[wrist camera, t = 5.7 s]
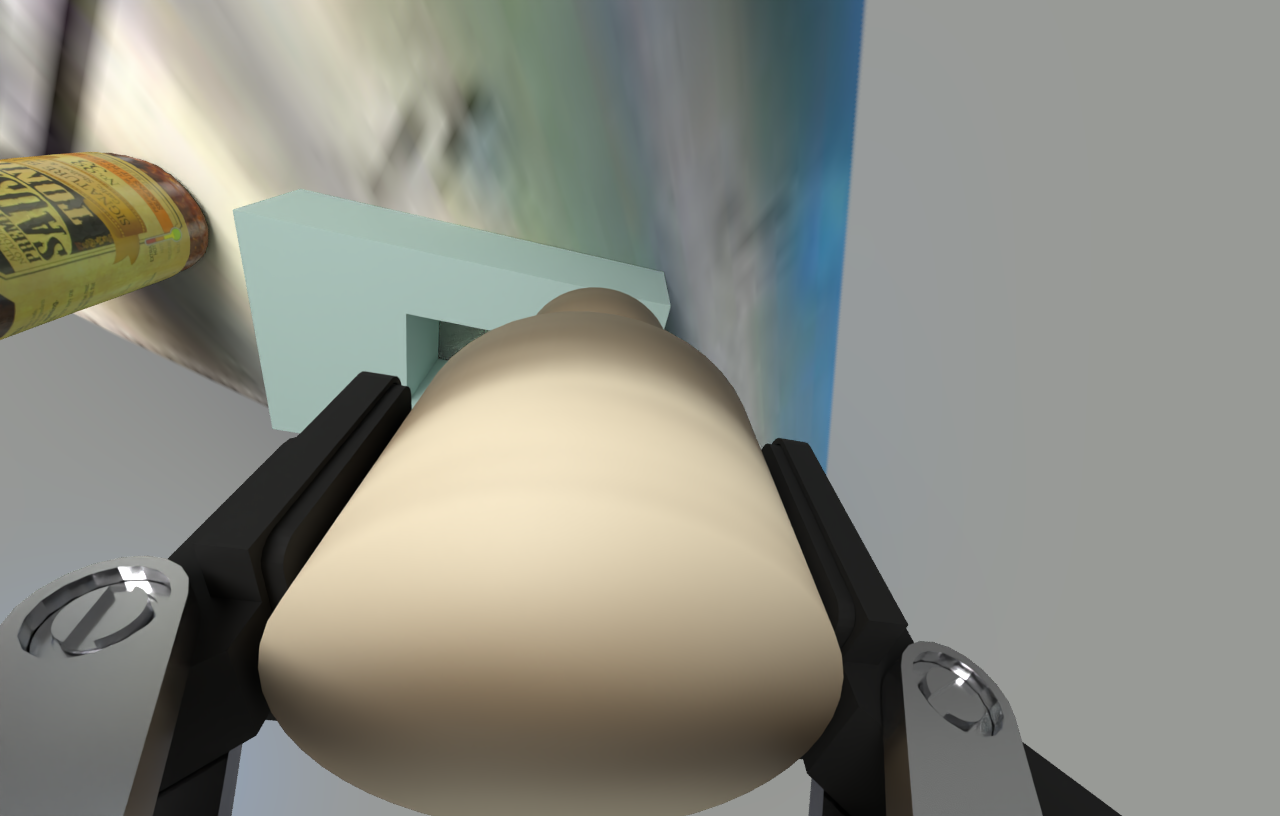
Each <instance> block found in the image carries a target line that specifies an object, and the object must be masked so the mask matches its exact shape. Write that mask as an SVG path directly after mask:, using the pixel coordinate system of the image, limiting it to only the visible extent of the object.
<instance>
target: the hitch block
mask: <svg viewBox="0 0 1280 816" xmlns="http://www.w3.org/2000/svg"><path fill="white" fill-rule="evenodd" d="M233 214H234V220H235V225H236V231H237V236H238V242H239V247H240V253H241V258H242V264H243V269H244V275H245V280H246V286H247V291H248V297H249V302H250V308H251V313H252V319H253V324H254V330H255V335H256V341H257V346H258V352H259V357H260V363H261V368H262V374H263V379H264V385H265V390H266V396H267V401H268V407H269V412H270V417H271V423H272V429H276V430H282V431H289V432H295V433H301V432H302V431H303V430H304V429H305V428H306V427H307V426H308V425H309V424H310V423H311V422H312V421H313V420H314V419H315V418H316V417H317V416H318V415H319V414H320V413H321V412H322V411H323V410H324V409H325V408H326V407H327V406H328V405H329V403H330V402H331V401H332V400H333V399H334V398H335V397H336V396H337V395H338V394H339V393H340V392H341V391H342V390H343V389H344V388H345V387H346V386H347V385H348V384H349V383H350V382H351V381H352V380H353V379H354V378H355V377H356V376H357V375H358V374H359V373H361V372H362V371H367V372H373V373H379V374H386V375H392V376H398V377H399V378H400V381H401V385H403V386H408V387H409V388H410V390H411V399H412V409H413V407H414V406H415V404H416V403H417V402H418V400H419V399H420V397H421V396H422V394H423V393H424V391H425V390H426V388H427V387H428V386H429V384H430V383H431V381H432V380H433V378H434V377H435V375H436V374H437V373H438V372H439V370H440V369H441V368H442V367H443V366H444V365H445V364H446V363H447V362H448V361H447V360H442V359H438V346H439V320H440V321H445V322H450V323H455V324H460V325H465V326H470V327H475V328H480V329H485V330H493V329H495V328H498V327H500V326H503V325H505V324H507V323H510V322H512V321H516V320H520V319H523V318H527V317H531V316H535V315H537V313H538V312H539V311H540V310H541V309H542V308H543V307H544V306H545V305H546V304H547V303H549V302H550V301H551V300H553V299H554V298H556V297H558V296H560V295H562V294H564V293H567V292H569V291H572V290H576V289H581V288H588V287H601V288H608V289H613V290H617V291H620V292H623V293H625V294H628V295H630V296H632V297H633V298H635V299H637V300H639V301H640V302H641V303H643V304H644V305H645V306H646V307H647V308H648V309H649V310H650V311H651V312H652V313H653V314H654V315H655V316H656V318H657V319H658V320H659V322H660V324H661V326H662V327H663V329H664V328H665V324H666V321H667V317H668V314H669V310H670V307H671V305H670V300H669V295H668V291H667V286H666V281H665V277H664V272H661V271H657V270H652V269H648V268H644V267H639V266H635V265H631V264H626V263H622V262H617V261H613V260H609V259H604V258H600V257H596V256H591V255H587V254H583V253H578V252H574V251H570V250H565V249H561V248H556V247H552V246H548V245H543V244H539V243H535V242H530V241H526V240H522V239H517V238H513V237H508V236H504V235H500V234H495V233H491V232H487V231H482V230H478V229H474V228H469V227H465V226H460V225H456V224H452V223H447V222H443V221H439V220H434V219H430V218H426V217H421V216H417V215H412V214H408V213H404V212H399V211H395V210H391V209H386V208H382V207H378V206H373V205H369V204H364V203H360V202H356V201H351V200H347V199H343V198H338V197H334V196H330V195H325V194H321V193H316V192H312V191H308V190H303V189H299V190H296V191H292V192H289V193H286V194H283V195H279V196H276V197H273V198H270V199H266V200H263V201H260V202H257V203H253V204H250V205H247V206H244V207H240V208H237V209H234V210H233Z"/></svg>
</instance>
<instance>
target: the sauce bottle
mask: <svg viewBox="0 0 1280 816" xmlns="http://www.w3.org/2000/svg"><path fill="white" fill-rule="evenodd" d="M208 236H209V235H208V226H207V223H206V221H205V217H204V215H203V213H202V211H201V210H200V207H199V206H198V204H197V203H196V202H195V200H194V199H193V198H192V196H191V195H190V194H189V192H188V191H187V190H186V189H185V188H184V187H183V186H182V185H181V184H180V183H179V182H178V181H177V180H175V178H174V177H173V176H172V175H171V174H168V173H166V172H165V171H164V170H163V169H162V168H160V167H158V166H157V165H154V164H151V163H149V162H147V161H144V160H141V159H136V158H133V157H129V156H126V155H117V154H113V153H99V152H81V153H69V154H57V155H45V156H34V157H22V158H11V159H2V160H0V340H1V339H4V338H7V337H9V336H12V335H15V334H18V333H20V332H23V331H26V330H28V329H31V328H33V327H36V326H39V325H42V324H45V323H47V322H50V321H53V320H56V319H58V318H61V317H64V316H66V315H69V314H72V313H74V312H77V311H80V310H83V309H85V308H88V307H91V306H94V305H97V304H99V303H102V302H105V301H108V300H110V299H113V298H116V297H119V296H121V295H124V294H127V293H130V292H132V291H135V290H138V289H140V288H143V287H146V286H148V285H151V284H154V283H157V282H159V281H162V280H164V279H167V278H170V277H172V276H174V275H175V274H177V273H178V272H180V271H183V270H186V269H188V268H190V267H191V266H192V265H193V264H195V263H196V262H197V261H199V259H200V258H201V257H202V256H203V255H204V253H206V248H207V246H208Z"/></svg>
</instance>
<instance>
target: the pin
mask: <svg viewBox="0 0 1280 816" xmlns="http://www.w3.org/2000/svg"><path fill="white" fill-rule="evenodd" d="M258 671H259V677H260V682H261V688H262V692H263V694H264V696H265V699H266V701H267V703H268V706H269V708H270V710H271V713H272V714H273V716H274V717H275V718H276V720H277V721H278V723H279V724H280V726H281V727H282V729H283V730H284V732H285V733H286V734H287V735H288V736H289V737H290V738H291V739H292V740H293V741H294V742H295V743H296V744H297V746H299V748H300V749H301V750H302V751H304V752H305V753H306V754H307V755H309V756H310V757H311V758H312V759H313V760H315V761H316V762H317V763H318V764H320V765H321V766H322V767H324V768H325V769H327V770H328V771H330V772H331V773H333V774H335V775H336V776H338V777H339V778H341V779H342V780H344V781H346V782H348V783H350V784H352V785H354V786H355V787H358V788H359V789H361V790H363V791H365V792H367V793H369V794H372V795H374V796H376V797H379V798H381V799H384V800H386V801H388V802H391V803H393V804H396V805H399V806H402V807H405V808H408V809H411V810H414V811H417V812H420V813H424V814H428V815H431V816H686V815H690V814H694V813H697V812H700V811H703V810H706V809H709V808H712V807H715V806H718V805H720V804H723V803H726V802H728V801H730V800H732V799H735V798H737V797H739V796H741V795H744V794H746V793H748V792H750V791H752V790H754V789H755V788H757V787H759V786H761V785H763V784H765V783H766V782H768V781H770V780H771V779H773V778H774V777H776V776H777V775H779V774H780V773H782V772H783V771H785V770H786V769H788V768H789V767H790V766H791V765H792V764H793V763H795V762H796V761H797V760H798V759H799V758H801V757H802V756H803V755H804V754H805V753H806V752H807V751H808V750H809V749H810V748H811V747H812V745H813V744H814V743H815V742H816V741H817V740H818V739H819V737H820V736H821V735H822V733H823V732H824V730H825V729H826V727H827V725H828V724H829V722H830V721H831V719H832V717H833V715H834V712H835V710H836V707H837V705H838V702H839V700H840V696H841V690H842V683H843V664H842V654H841V651H840V648H839V645H838V642H837V639H836V635H835V632H834V630H833V627H832V625H831V622H830V620H829V617H828V615H827V613H826V610H825V608H824V605H823V603H822V600H821V598H820V595H819V593H818V590H817V588H816V585H815V583H814V580H813V578H812V575H811V573H810V570H809V568H808V565H807V563H806V560H805V558H804V555H803V553H802V550H801V548H800V545H799V543H798V541H797V538H796V536H795V533H794V531H793V528H792V526H791V523H790V521H789V518H788V516H787V513H786V511H785V508H784V506H783V503H782V501H781V498H780V496H779V493H778V491H777V488H776V486H775V483H774V481H773V478H772V476H771V473H770V471H769V468H768V466H767V464H766V461H765V459H764V456H763V454H762V451H761V449H760V446H759V444H758V441H757V439H756V436H755V434H754V431H753V429H752V426H751V424H750V421H749V419H748V416H747V414H746V411H745V409H744V406H743V405H742V403H741V401H740V399H739V397H738V395H737V393H736V391H735V390H734V388H733V387H732V385H731V384H730V383H729V381H728V380H727V379H726V377H725V376H724V375H723V373H722V372H721V371H720V370H719V369H718V368H717V367H716V366H715V365H714V364H713V363H712V362H711V361H710V360H709V359H708V358H707V357H706V356H705V355H703V354H702V353H701V352H699V351H698V350H697V349H695V348H694V347H693V346H691V345H690V344H689V343H687V342H686V341H684V340H682V339H680V338H678V337H676V336H675V335H673V334H671V333H669V332H667V331H666V330H664V329H663V327H662V326H661V324H660V322H659V320H658V319H657V318H656V316H655V315H654V314H653V313H652V312H651V311H650V310H649V309H648V308H647V307H646V306H645V305H644V304H643V303H641V302H640V301H639V300H637V299H635V298H633V297H632V296H630V295H628V294H625V293H623V292H620V291H617V290H613V289H608V288H601V287H588V288H581V289H576V290H572V291H569V292H567V293H564V294H562V295H560V296H558V297H556V298H554V299H553V300H551V301H550V302H549V303H547V304H546V305H545V306H544V307H543V308H542V309H541V310H540V311H539V312H538V313H537V315H535V316H531V317H527V318H523V319H520V320H516V321H512V322H510V323H507V324H505V325H503V326H500V327H498V328H495V329H493V330H490V331H489V332H487V333H485V334H483V335H482V336H480V337H478V338H477V339H475V340H473V341H471V342H470V343H468V344H467V345H466V346H465V347H463V348H462V349H461V350H460V351H459V352H457V353H456V354H455V355H454V356H452V357H451V358H450V359H449V360H448V362H447V363H446V364H445V365H444V366H443V367H442V368H441V369H440V370H439V372H438V373H437V374H436V375H435V377H434V378H433V380H432V381H431V383H430V384H429V386H428V387H427V388H426V390H425V391H424V393H423V394H422V396H421V397H420V399H419V400H418V402H417V403H416V404H415V406H414V407H413V409H412V410H411V412H410V413H409V415H408V416H407V417H406V419H405V420H404V422H403V423H402V425H401V426H400V428H399V429H398V431H397V432H396V433H395V435H394V436H393V438H392V439H391V441H390V442H389V444H388V445H387V446H386V448H385V449H384V451H383V452H382V454H381V455H380V457H379V458H378V460H377V461H376V462H375V464H374V465H373V467H372V468H371V470H370V471H369V473H368V474H367V475H366V477H365V478H364V480H363V481H362V483H361V484H360V486H359V487H358V489H357V490H356V491H355V493H354V494H353V496H352V497H351V499H350V500H349V502H348V503H347V505H346V506H345V507H344V509H343V510H342V512H341V513H340V515H339V516H338V518H337V519H336V520H335V522H334V523H333V525H332V526H331V528H330V529H329V531H328V532H327V534H326V535H325V536H324V538H323V539H322V541H321V542H320V544H319V545H318V547H317V548H316V549H315V551H314V552H313V554H312V555H311V557H310V558H309V560H308V561H307V563H306V564H305V565H304V567H303V568H302V570H301V571H300V573H299V574H298V576H297V577H296V579H295V580H294V581H293V583H292V584H291V586H290V587H289V589H288V590H287V592H286V593H285V594H284V596H283V597H282V599H281V601H280V602H279V604H278V605H277V607H276V608H275V610H274V612H273V613H272V615H271V616H270V618H269V620H268V621H267V624H266V627H265V630H264V633H263V636H262V639H261V642H260V646H259V661H258Z"/></svg>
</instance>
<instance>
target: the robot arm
mask: <svg viewBox="0 0 1280 816" xmlns="http://www.w3.org/2000/svg"><path fill="white" fill-rule="evenodd" d="M411 410H412V399H411V390H410V388H409V387H408V386H403V385H401V381H400V378H399V377H398V376H392V375H386V374H379V373H373V372H367V371H362V372H361V373H359V374H358V375H357V376H356V377H355V378H354V379H353V380H352V381H351V382H350V383H349V384H348V385H347V386H346V387H345V388H344V389H343V390H342V391H341V392H340V393H339V394H338V395H337V396H336V397H335V398H334V399H333V400H332V401H331V402H330V403H329V405H328V406H327V407H326V408H325V409H324V410H323V411H322V412H321V413H320V414H319V415H318V416H317V417H316V418H315V419H314V420H313V421H312V422H311V423H310V424H309V425H308V426H307V427H306V428H305V429H304V430H303V431H302V432H301V433H300V434H299V435H298V436H297V437H295V438H291V439H289V440H287V441H286V442H285V443H283V444H282V445H281V446H280V447H279V448H278V449H277V450H276V451H275V452H274V453H273V454H272V455H271V456H270V457H269V458H268V459H267V460H266V461H265V462H264V463H263V464H262V465H261V466H260V467H259V468H258V469H257V470H256V471H255V472H254V473H253V474H252V475H251V476H250V477H249V478H248V479H247V480H246V481H245V482H244V483H243V484H242V485H241V486H240V487H239V488H238V489H237V490H236V491H235V492H234V493H233V494H232V495H231V496H230V497H229V498H228V499H227V500H226V501H225V502H224V503H223V504H222V505H221V506H220V507H219V508H218V509H217V510H216V511H215V512H214V513H213V514H212V515H211V516H210V517H209V518H208V519H207V520H206V521H205V522H204V523H203V524H202V525H201V526H200V527H199V528H198V529H197V530H196V531H195V532H194V533H193V534H192V535H191V536H190V537H189V538H188V539H187V540H186V541H185V542H184V543H183V544H182V545H181V546H180V547H179V548H178V549H177V550H176V551H175V552H174V553H173V554H172V555H171V556H170V557H169V558H168V559H165V558H158V557H152V556H136V557H121V558H117V559H112V560H108V561H104V562H99V563H95V564H92V565H89V566H87V567H84V568H81V569H79V570H76V571H73V572H71V573H68V574H66V575H64V576H62V577H60V578H58V579H56V580H54V581H53V582H51V583H49V584H47V585H45V586H43V587H42V588H40V589H38V590H37V591H35V592H34V593H33V594H32V595H30V596H29V597H28V598H26V599H25V600H24V601H23V602H21V603H20V604H19V605H18V606H16V607H15V608H14V609H13V611H12V612H11V613H10V614H9V615H8V617H7V618H6V619H5V620H4V621H3V623H2V624H1V625H0V816H231V815H232V809H233V802H234V796H235V789H236V782H237V776H238V769H239V762H240V756H241V749H242V744H243V743H244V742H246V741H248V740H249V739H251V738H253V737H254V736H256V735H257V733H258V732H259V730H260V728H261V726H262V724H263V723H264V721H265V720H275V721H277V720H276V718H275V717H274V716H273V714H272V713H271V710H270V708H269V706H268V703H267V701H266V699H265V696H264V694H263V692H262V688H261V682H260V677H259V671H258V661H259V646H260V642H261V639H262V636H263V633H264V630H265V627H266V624H267V621H268V620H269V618H270V616H271V615H272V613H273V612H274V610H275V608H276V607H277V605H278V604H279V602H280V601H281V599H282V597H283V596H284V594H285V593H286V592H287V590H288V589H289V587H290V586H291V584H292V583H293V581H294V580H295V579H296V577H297V576H298V574H299V573H300V571H301V570H302V568H303V567H304V565H305V564H306V563H307V561H308V560H309V558H310V557H311V555H312V554H313V552H314V551H315V549H316V548H317V547H318V545H319V544H320V542H321V541H322V539H323V538H324V536H325V535H326V534H327V532H328V531H329V529H330V528H331V526H332V525H333V523H334V522H335V520H336V519H337V518H338V516H339V515H340V513H341V512H342V510H343V509H344V507H345V506H346V505H347V503H348V502H349V500H350V499H351V497H352V496H353V494H354V493H355V491H356V490H357V489H358V487H359V486H360V484H361V483H362V481H363V480H364V478H365V477H366V475H367V474H368V473H369V471H370V470H371V468H372V467H373V465H374V464H375V462H376V461H377V460H378V458H379V457H380V455H381V454H382V452H383V451H384V449H385V448H386V446H387V445H388V444H389V442H390V441H391V439H392V438H393V436H394V435H395V433H396V432H397V431H398V429H399V428H400V426H401V425H402V423H403V422H404V420H405V419H406V417H407V416H408V415H409V413H410V412H411ZM761 451H762V454H763V456H764V459H765V461H766V464H767V466H768V468H769V471H770V473H771V476H772V478H773V481H774V483H775V486H776V488H777V491H778V493H779V496H780V498H781V501H782V503H783V506H784V508H785V511H786V513H787V516H788V518H789V521H790V523H791V526H792V528H793V531H794V533H795V536H796V538H797V541H798V543H799V545H800V548H801V550H802V553H803V555H804V558H805V560H806V563H807V565H808V568H809V570H810V573H811V575H812V578H813V580H814V583H815V585H816V588H817V590H818V593H819V595H820V598H821V600H822V603H823V605H824V608H825V610H826V613H827V615H828V617H829V620H830V622H831V625H832V627H833V630H834V632H835V635H836V639H837V642H838V645H839V648H840V651H841V654H842V664H843V683H842V690H841V696H840V700H839V702H838V705H837V707H836V710H835V712H834V715H833V717H832V719H831V721H830V722H829V724H828V725H827V727H826V729H825V730H824V732H823V733H822V735H821V736H820V737H819V739H818V740H817V741H816V742H815V743H814V744H813V745H812V747H811V748H810V749H809V750H808V751H807V752H806V753H805V754H804V755H803V756H802V757H801V758H799V759H803V760H804V764H805V768H806V771H807V774H808V775H809V776H810V777H811V778H812V780H811V791H810V804H809V816H1122V815H1120V814H1119V813H1117V812H1116V811H1115V810H1113V809H1112V808H1111V807H1109V806H1108V805H1107V804H1105V803H1104V802H1103V801H1101V800H1100V799H1099V798H1097V797H1096V796H1095V795H1093V794H1092V793H1091V792H1089V791H1088V790H1086V789H1085V788H1084V787H1082V786H1081V785H1080V784H1078V783H1077V782H1076V781H1074V780H1073V779H1072V778H1070V777H1069V776H1067V775H1066V774H1065V773H1064V772H1062V771H1061V770H1060V769H1058V768H1057V767H1055V766H1054V765H1053V764H1051V763H1050V762H1049V761H1047V760H1046V759H1045V758H1043V757H1042V756H1041V755H1039V754H1038V753H1036V752H1035V751H1034V750H1033V749H1031V748H1030V747H1029V746H1027V745H1026V744H1024V743H1023V742H1022V740H1021V736H1020V732H1019V729H1018V725H1017V722H1016V719H1015V716H1014V714H1013V711H1012V709H1011V706H1010V704H1009V702H1008V700H1007V699H1006V697H1005V696H1004V694H1003V693H1002V691H1001V690H1000V689H999V687H998V686H997V684H996V683H995V682H994V681H993V680H992V679H991V678H990V677H989V676H988V675H987V674H986V673H985V672H984V671H983V670H982V669H981V668H980V667H979V666H977V665H976V664H975V663H973V662H972V661H971V660H970V659H968V658H967V657H966V656H964V655H962V654H960V653H959V652H957V651H955V650H953V649H951V648H949V647H947V646H944V645H940V644H937V643H935V642H924V641H919V642H916V643H914V642H913V640H912V638H911V637H910V635H909V633H908V631H907V629H906V627H907V626H908V623H907V622H906V620H905V618H904V616H903V614H902V612H901V611H900V609H899V607H898V605H897V603H896V602H895V600H894V598H893V596H892V594H891V593H890V591H889V589H888V587H887V585H886V583H885V582H884V580H883V578H882V576H881V574H880V573H879V571H878V569H877V567H876V565H875V563H874V562H873V560H872V558H871V556H870V554H869V552H868V551H867V549H866V547H865V545H864V543H863V542H862V540H861V538H860V536H859V534H858V533H857V531H856V529H855V527H854V525H853V524H852V522H851V520H850V518H849V516H848V514H847V513H846V511H845V509H844V507H843V505H842V504H841V502H840V500H839V498H838V496H837V495H836V493H835V491H834V489H833V487H832V485H831V483H830V482H829V480H828V478H827V476H826V474H825V473H824V471H823V469H822V467H821V465H820V463H819V462H818V460H817V458H816V456H815V454H814V453H813V451H812V449H811V447H810V446H809V444H808V443H805V442H800V441H794V440H788V439H782V438H777V439H775V441H774V442H773V443H772V444H765V446H764V447H763V448H762V450H761Z"/></svg>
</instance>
